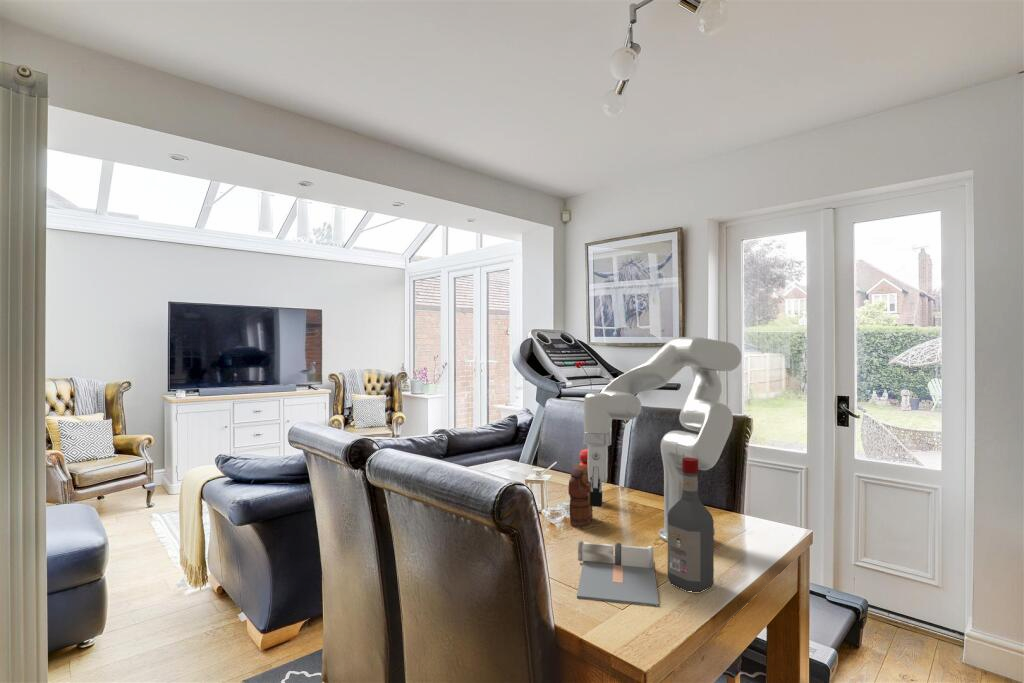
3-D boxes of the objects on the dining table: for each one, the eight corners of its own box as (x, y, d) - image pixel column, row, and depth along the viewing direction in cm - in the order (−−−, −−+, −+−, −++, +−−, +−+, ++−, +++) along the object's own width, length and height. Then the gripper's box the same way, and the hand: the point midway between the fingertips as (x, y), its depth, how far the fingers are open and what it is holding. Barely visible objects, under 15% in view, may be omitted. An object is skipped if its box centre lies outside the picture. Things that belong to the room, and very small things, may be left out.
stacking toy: (572, 497, 194) (572, 447, 194) (592, 496, 196) (592, 446, 196) (580, 504, 186) (580, 451, 186) (600, 502, 188) (601, 450, 188)
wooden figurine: (586, 528, 162) (586, 470, 162) (566, 525, 164) (566, 469, 164) (595, 516, 173) (595, 462, 173) (576, 514, 175) (576, 461, 175)
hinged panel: (613, 561, 135) (613, 543, 135) (613, 563, 134) (613, 545, 134) (578, 558, 137) (578, 540, 137) (577, 560, 136) (577, 542, 136)
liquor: (695, 596, 119) (695, 465, 119) (662, 581, 126) (662, 458, 126) (718, 585, 124) (718, 460, 124) (685, 571, 131) (685, 453, 131)
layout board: (652, 561, 137) (652, 539, 137) (658, 606, 114) (658, 580, 114) (584, 555, 141) (584, 534, 141) (576, 597, 118) (576, 572, 118)
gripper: (610, 444, 133) (609, 515, 133) (611, 434, 148) (610, 499, 148) (581, 442, 135) (580, 513, 135) (585, 433, 150) (584, 497, 149)
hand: (596, 505), depth 141 cm, fingers closed
